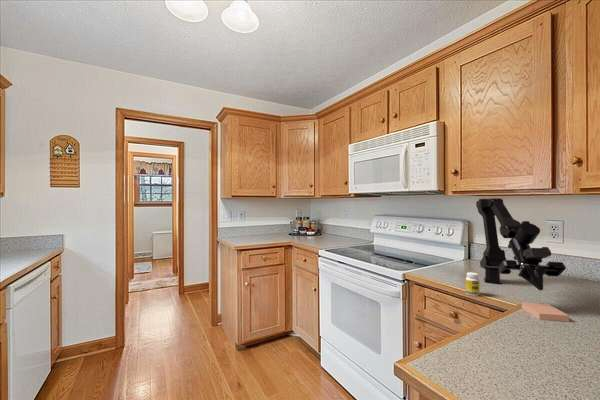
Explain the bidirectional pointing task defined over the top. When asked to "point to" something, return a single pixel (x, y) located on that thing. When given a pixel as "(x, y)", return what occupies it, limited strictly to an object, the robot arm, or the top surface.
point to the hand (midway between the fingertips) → (541, 289)
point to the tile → (545, 312)
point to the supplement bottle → (472, 284)
